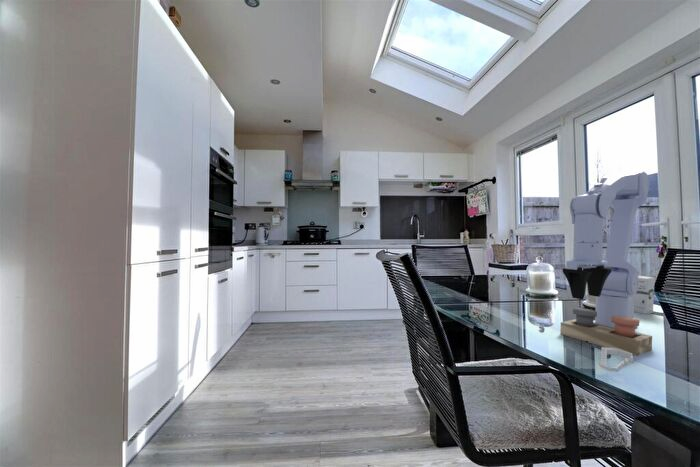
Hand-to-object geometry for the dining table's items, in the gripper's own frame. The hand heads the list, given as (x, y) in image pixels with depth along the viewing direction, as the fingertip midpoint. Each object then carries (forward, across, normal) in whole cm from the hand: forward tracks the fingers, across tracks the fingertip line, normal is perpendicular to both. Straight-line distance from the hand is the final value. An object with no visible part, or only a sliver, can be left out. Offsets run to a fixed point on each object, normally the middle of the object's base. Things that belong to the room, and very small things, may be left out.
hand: (586, 297), depth 77 cm
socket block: (+10, 0, -4) cm, 11 cm away
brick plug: (+7, +1, -8) cm, 10 cm away
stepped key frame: (+11, -10, -11) cm, 18 cm away
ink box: (+10, +46, +8) cm, 48 cm away
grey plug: (+7, 0, 0) cm, 7 cm away
